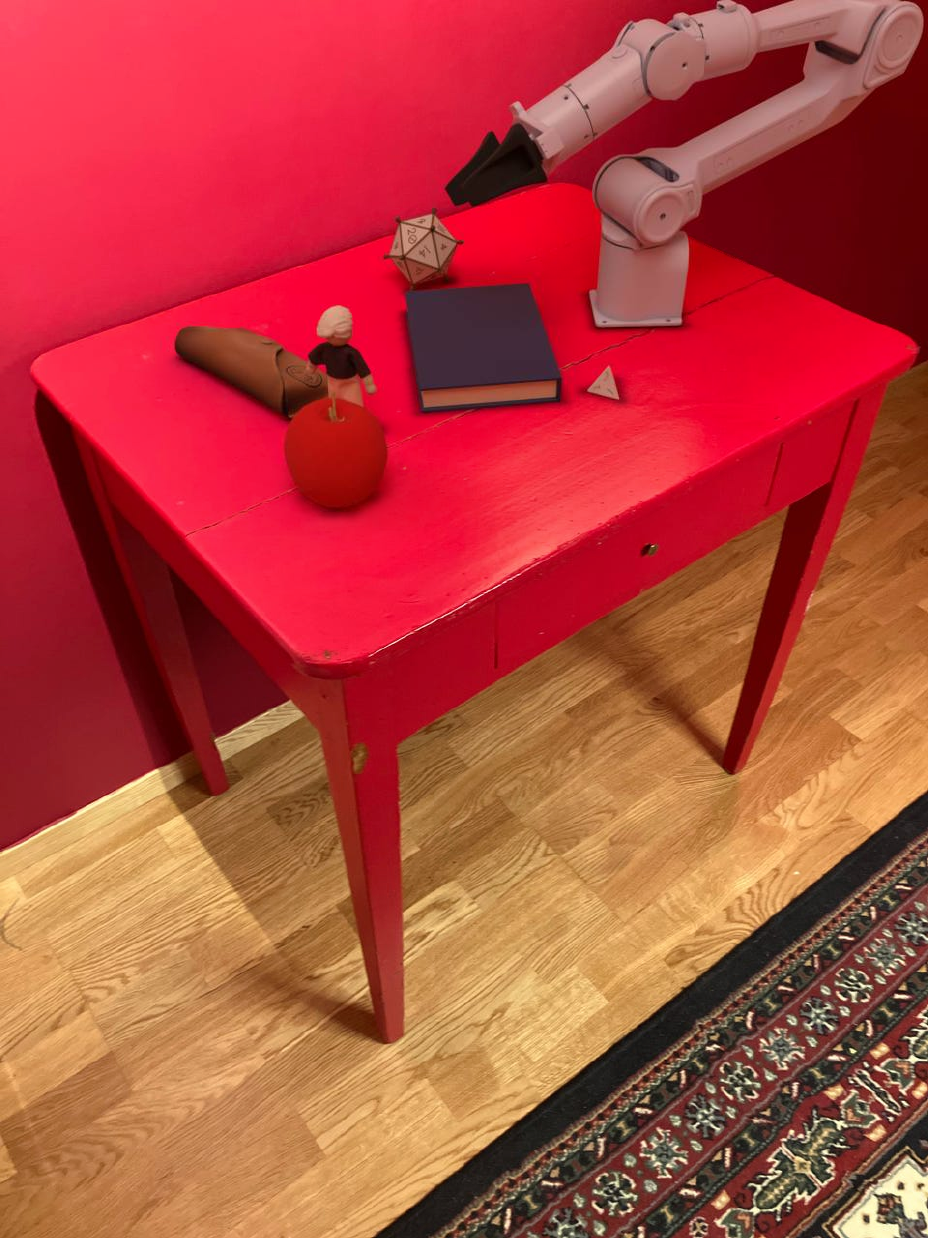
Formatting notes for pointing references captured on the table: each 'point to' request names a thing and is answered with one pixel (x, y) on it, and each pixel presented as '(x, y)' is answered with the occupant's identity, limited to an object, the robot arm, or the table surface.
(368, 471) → the fruit
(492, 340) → the book
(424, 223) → the game die
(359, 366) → the grandmother figurine
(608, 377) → the tetrahedral die
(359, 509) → the table surface
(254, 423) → the table surface
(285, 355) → the sunglasses case
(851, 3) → the robot arm
